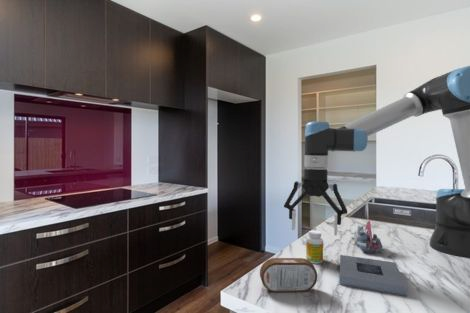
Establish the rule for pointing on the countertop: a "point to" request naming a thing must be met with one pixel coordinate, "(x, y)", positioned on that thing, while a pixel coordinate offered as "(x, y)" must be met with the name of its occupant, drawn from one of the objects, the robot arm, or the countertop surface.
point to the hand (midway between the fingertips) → (313, 231)
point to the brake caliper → (367, 240)
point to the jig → (372, 275)
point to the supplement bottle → (314, 247)
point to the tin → (288, 275)
